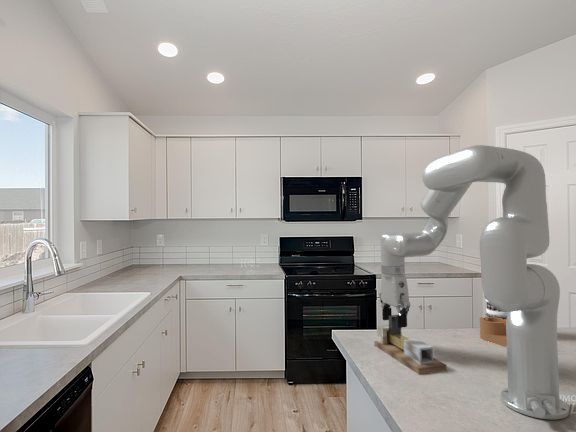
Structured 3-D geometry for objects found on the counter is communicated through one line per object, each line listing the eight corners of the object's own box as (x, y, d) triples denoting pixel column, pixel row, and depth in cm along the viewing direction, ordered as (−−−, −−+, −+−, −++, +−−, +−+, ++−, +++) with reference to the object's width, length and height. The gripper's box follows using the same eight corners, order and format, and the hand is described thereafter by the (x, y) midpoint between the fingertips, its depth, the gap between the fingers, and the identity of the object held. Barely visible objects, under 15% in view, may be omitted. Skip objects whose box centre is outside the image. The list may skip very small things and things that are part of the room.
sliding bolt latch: (446, 370, 99) (445, 346, 100) (418, 374, 97) (418, 349, 97) (397, 342, 123) (397, 323, 123) (374, 345, 121) (374, 325, 121)
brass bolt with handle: (420, 353, 106) (419, 324, 106) (411, 355, 105) (410, 325, 105) (393, 338, 120) (392, 312, 121) (385, 339, 120) (384, 313, 120)
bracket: (475, 338, 127) (474, 318, 127) (490, 334, 131) (489, 315, 131) (526, 354, 111) (526, 331, 111) (542, 349, 114) (542, 328, 114)
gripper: (418, 273, 110) (420, 329, 109) (389, 267, 127) (390, 316, 126) (397, 274, 108) (399, 332, 107) (370, 268, 125) (371, 317, 124)
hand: (394, 323), depth 117 cm, fingers open, 8 cm apart
